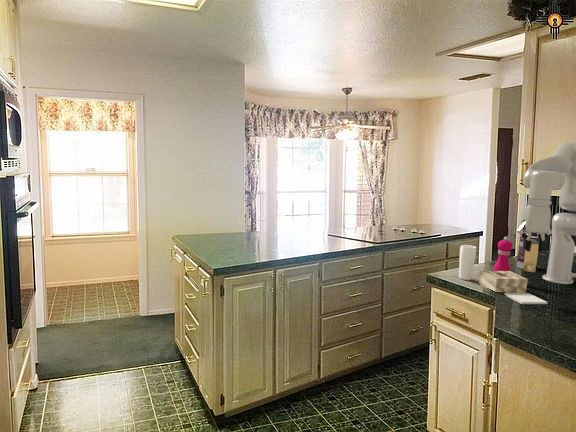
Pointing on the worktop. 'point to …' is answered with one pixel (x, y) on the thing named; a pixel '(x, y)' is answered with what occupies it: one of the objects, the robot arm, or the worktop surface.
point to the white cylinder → (466, 261)
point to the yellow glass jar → (531, 256)
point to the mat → (525, 298)
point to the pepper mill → (503, 255)
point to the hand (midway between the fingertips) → (532, 249)
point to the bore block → (503, 281)
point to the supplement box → (522, 252)
